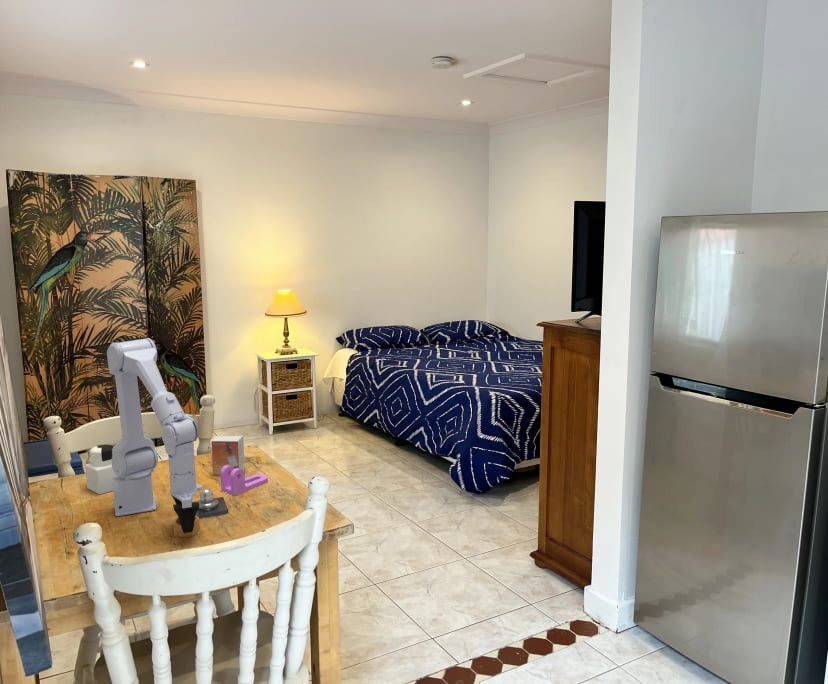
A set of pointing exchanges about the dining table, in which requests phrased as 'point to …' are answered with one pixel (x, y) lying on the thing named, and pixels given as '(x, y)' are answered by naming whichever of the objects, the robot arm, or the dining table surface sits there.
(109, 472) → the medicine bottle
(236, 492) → the bracket
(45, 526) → the dining table surface
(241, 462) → the small box
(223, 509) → the stand
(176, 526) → the wooden ring
